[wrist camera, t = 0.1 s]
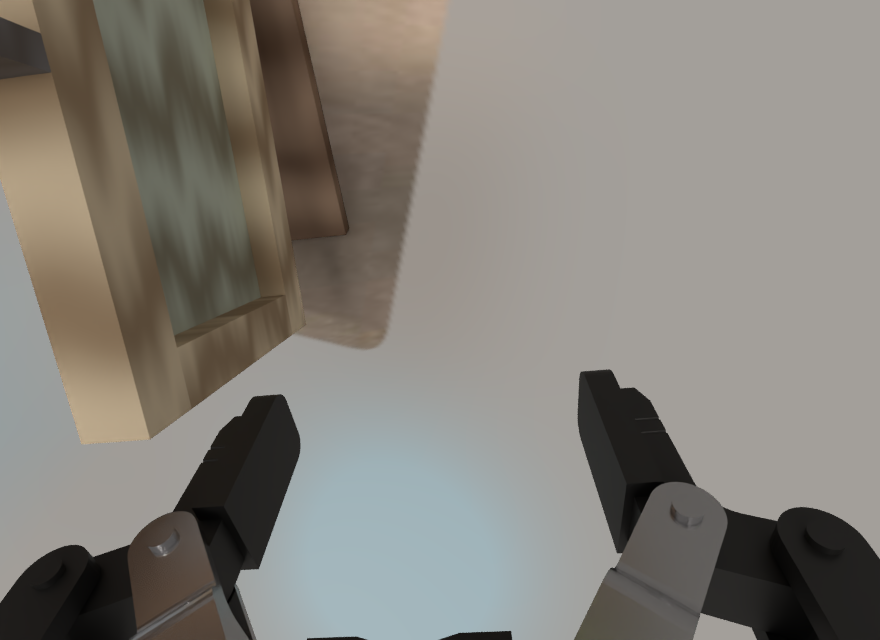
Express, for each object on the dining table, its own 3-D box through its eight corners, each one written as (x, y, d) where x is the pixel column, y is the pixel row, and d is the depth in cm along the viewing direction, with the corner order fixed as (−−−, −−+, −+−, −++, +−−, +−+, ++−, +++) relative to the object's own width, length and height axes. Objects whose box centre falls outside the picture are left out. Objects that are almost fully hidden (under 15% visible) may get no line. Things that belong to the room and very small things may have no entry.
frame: (190, -87, 26) (-362, -670, 9) (233, -94, 26) (-244, -705, 9) (270, 327, 32) (29, 477, 14) (305, 324, 32) (106, 471, 14)
